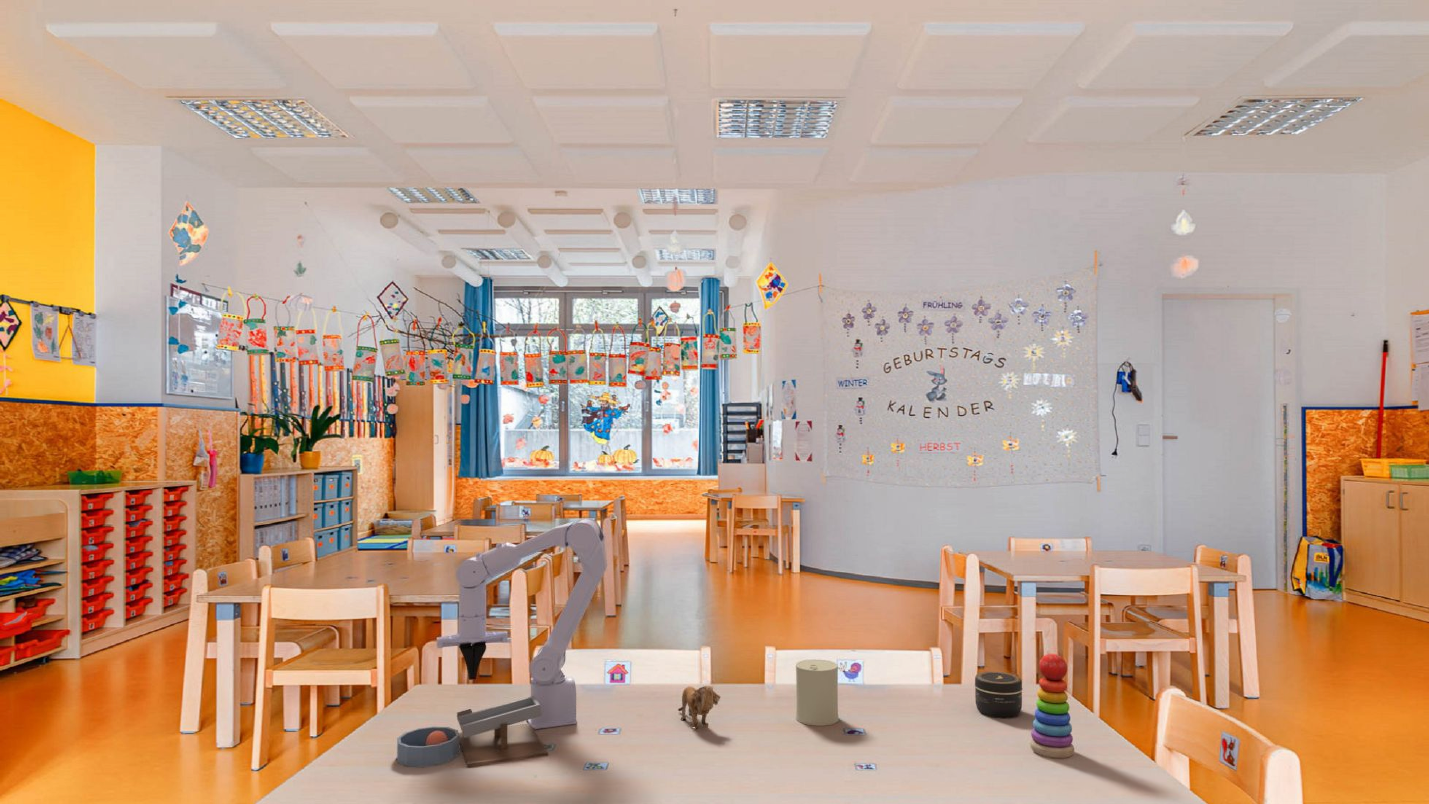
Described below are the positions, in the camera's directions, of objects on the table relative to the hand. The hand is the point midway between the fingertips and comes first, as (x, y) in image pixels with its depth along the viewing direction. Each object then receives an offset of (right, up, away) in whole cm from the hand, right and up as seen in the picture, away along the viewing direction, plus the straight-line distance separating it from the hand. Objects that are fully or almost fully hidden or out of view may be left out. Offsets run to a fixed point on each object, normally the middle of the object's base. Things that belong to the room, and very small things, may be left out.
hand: (472, 678), depth 186 cm
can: (+74, -9, +2) cm, 75 cm away
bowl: (-3, -9, -19) cm, 21 cm away
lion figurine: (+48, -10, -1) cm, 49 cm away
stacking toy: (+117, -9, -18) cm, 119 cm away
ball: (-2, -6, -18) cm, 19 cm away
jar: (+115, -10, +6) cm, 115 cm away
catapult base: (+9, -9, -14) cm, 19 cm away
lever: (+8, -4, -11) cm, 14 cm away
